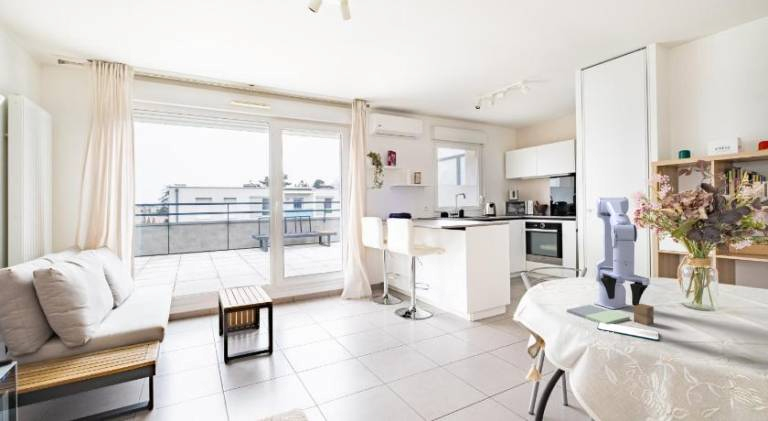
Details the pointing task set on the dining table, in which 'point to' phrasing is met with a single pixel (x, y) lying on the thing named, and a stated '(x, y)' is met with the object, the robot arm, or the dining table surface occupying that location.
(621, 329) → the smartphone
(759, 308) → the dining table surface
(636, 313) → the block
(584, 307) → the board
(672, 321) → the dining table surface
